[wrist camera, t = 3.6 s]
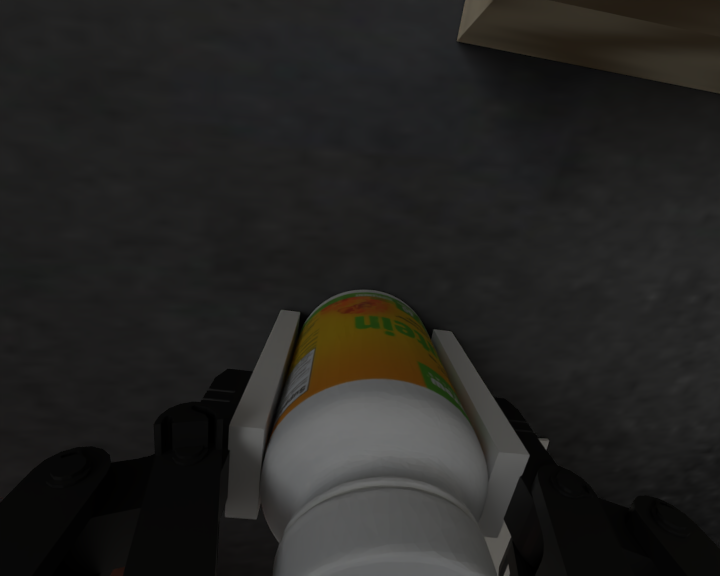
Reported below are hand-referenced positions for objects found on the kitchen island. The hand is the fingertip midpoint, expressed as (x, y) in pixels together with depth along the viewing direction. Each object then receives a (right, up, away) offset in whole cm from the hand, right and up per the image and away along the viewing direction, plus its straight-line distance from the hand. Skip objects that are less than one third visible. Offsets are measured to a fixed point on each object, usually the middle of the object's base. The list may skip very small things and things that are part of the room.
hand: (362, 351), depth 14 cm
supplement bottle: (0, 0, 0) cm, 1 cm away
